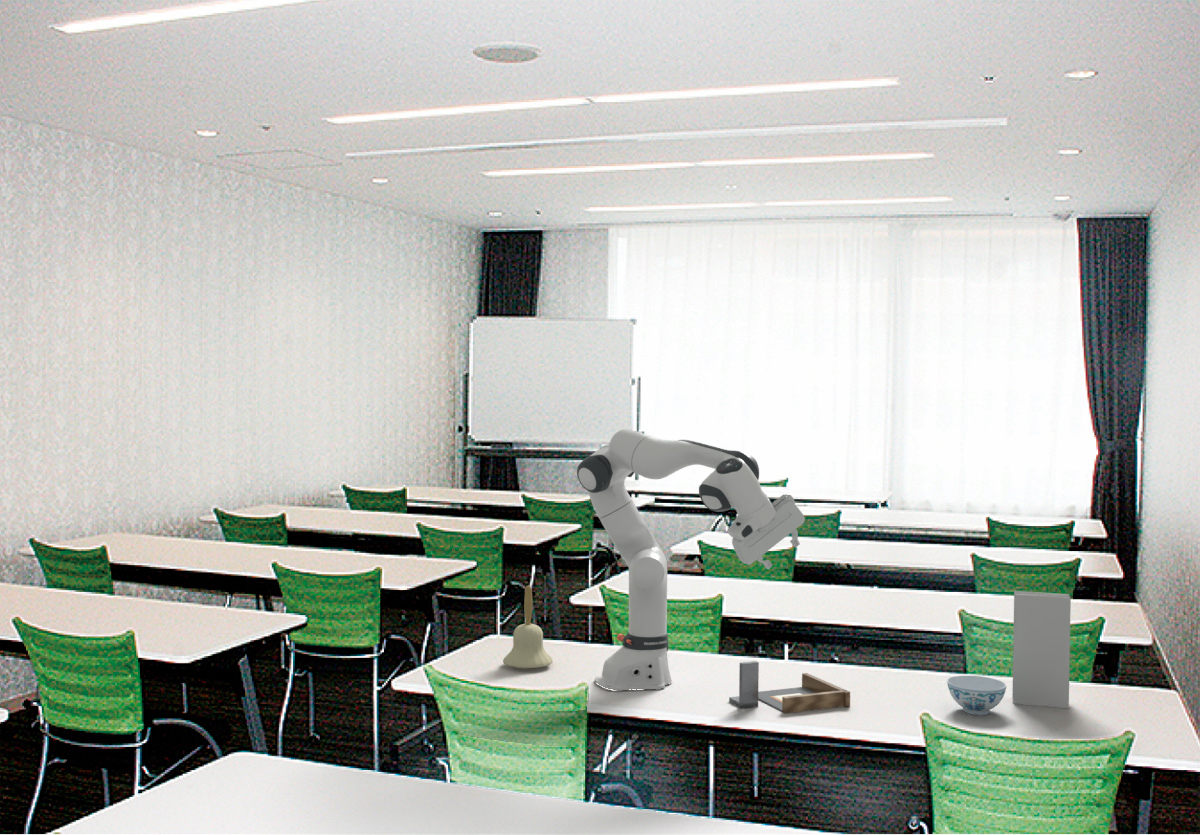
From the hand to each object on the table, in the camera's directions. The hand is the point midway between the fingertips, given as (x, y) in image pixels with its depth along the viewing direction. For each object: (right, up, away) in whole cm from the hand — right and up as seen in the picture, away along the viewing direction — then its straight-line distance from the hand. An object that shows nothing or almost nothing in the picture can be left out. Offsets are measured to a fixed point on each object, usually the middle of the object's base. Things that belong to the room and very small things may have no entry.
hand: (783, 556), depth 290 cm
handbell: (-70, -40, +52) cm, 96 cm away
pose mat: (+6, -42, +18) cm, 46 cm away
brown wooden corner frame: (+7, -42, +17) cm, 46 cm away
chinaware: (+53, -43, +8) cm, 68 cm away
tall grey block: (+73, -42, +16) cm, 86 cm away
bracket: (-9, -42, +13) cm, 44 cm away
